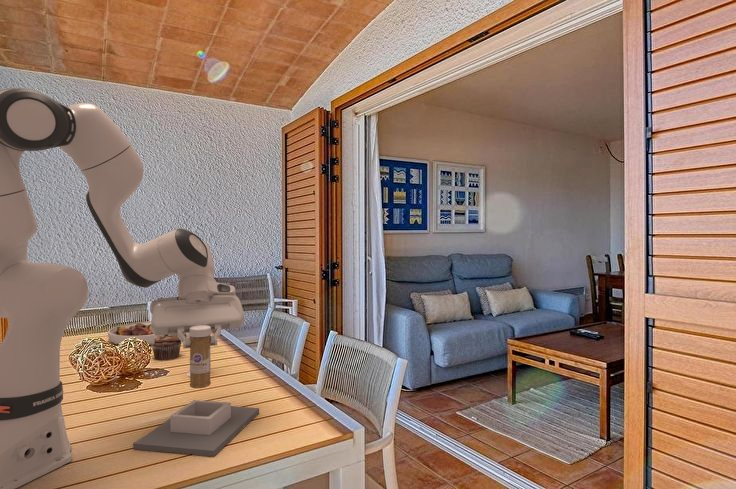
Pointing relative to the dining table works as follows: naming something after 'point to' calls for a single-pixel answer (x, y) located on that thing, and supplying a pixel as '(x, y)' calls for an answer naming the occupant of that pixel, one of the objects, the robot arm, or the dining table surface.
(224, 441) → the socket board
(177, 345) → the cupcake
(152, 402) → the dining table surface
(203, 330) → the sprinkles bottle
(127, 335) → the bowl
